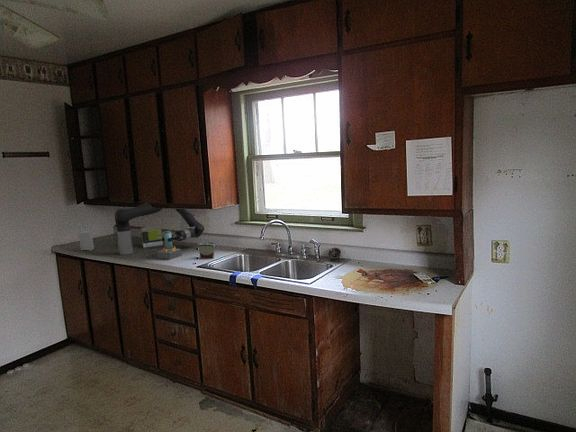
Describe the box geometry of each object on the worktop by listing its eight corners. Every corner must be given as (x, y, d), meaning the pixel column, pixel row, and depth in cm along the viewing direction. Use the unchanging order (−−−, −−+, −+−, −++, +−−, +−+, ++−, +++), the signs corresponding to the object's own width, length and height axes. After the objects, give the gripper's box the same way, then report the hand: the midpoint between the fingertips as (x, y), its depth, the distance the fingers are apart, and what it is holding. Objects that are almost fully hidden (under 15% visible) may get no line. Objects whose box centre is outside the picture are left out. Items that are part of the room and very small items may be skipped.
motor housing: (157, 258, 270) (156, 249, 270) (170, 254, 281) (169, 245, 280) (169, 259, 265) (168, 250, 264) (181, 255, 276) (181, 246, 275)
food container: (219, 256, 268) (217, 242, 266) (215, 258, 262) (213, 244, 261) (202, 256, 271) (201, 242, 270) (198, 258, 265) (197, 243, 264)
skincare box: (94, 248, 314) (92, 230, 312) (91, 250, 308) (89, 232, 306) (83, 249, 313) (80, 231, 310) (80, 251, 307) (77, 232, 305)
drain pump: (163, 248, 271) (162, 231, 269) (169, 247, 276) (167, 230, 274) (169, 249, 269) (167, 232, 267) (174, 247, 273) (172, 230, 271)
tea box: (161, 243, 323) (159, 225, 321) (163, 245, 314) (161, 227, 312) (142, 245, 317) (140, 227, 315) (143, 248, 308) (141, 229, 306)
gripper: (175, 229, 286) (157, 233, 272) (189, 230, 280) (172, 234, 265) (175, 239, 288) (158, 244, 273) (190, 240, 281) (173, 245, 266)
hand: (165, 239), depth 269 cm, fingers closed on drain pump, 5 cm apart
